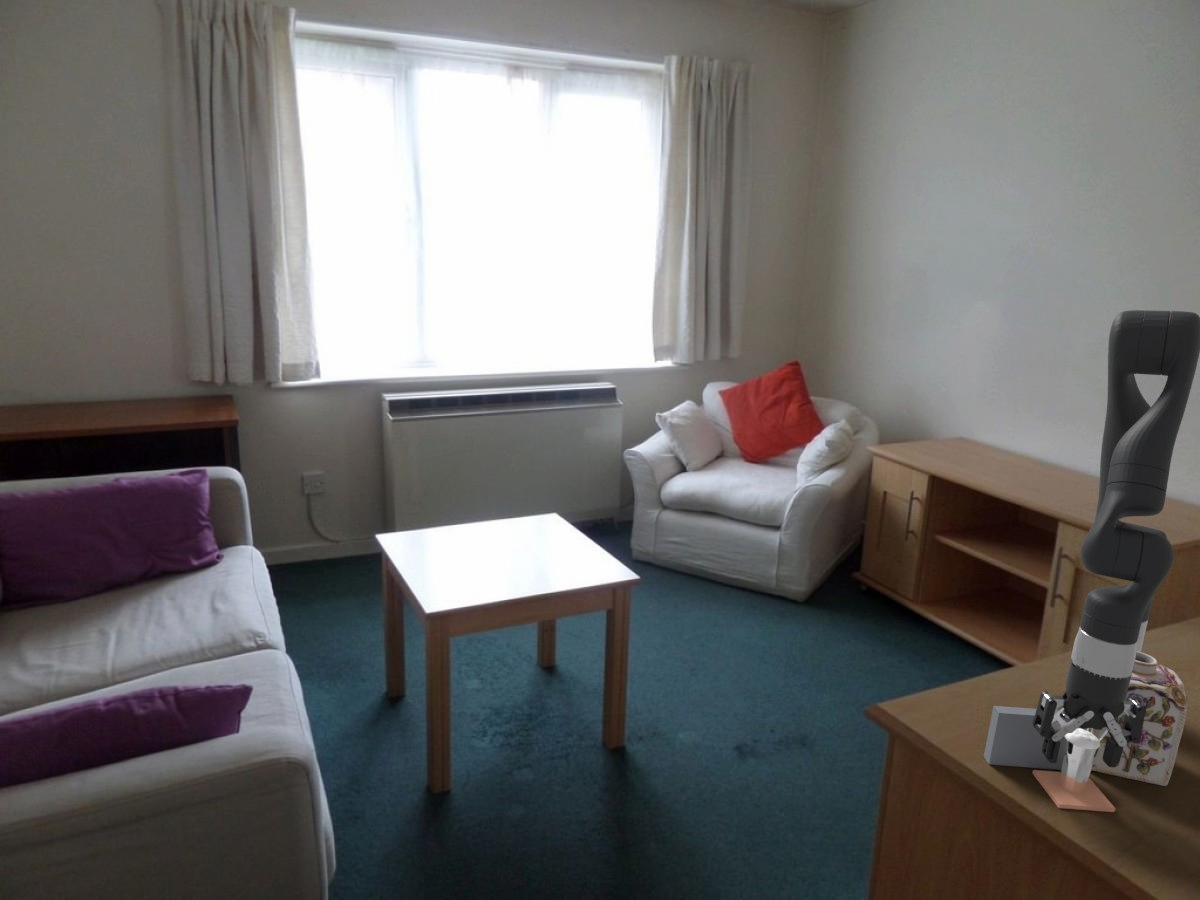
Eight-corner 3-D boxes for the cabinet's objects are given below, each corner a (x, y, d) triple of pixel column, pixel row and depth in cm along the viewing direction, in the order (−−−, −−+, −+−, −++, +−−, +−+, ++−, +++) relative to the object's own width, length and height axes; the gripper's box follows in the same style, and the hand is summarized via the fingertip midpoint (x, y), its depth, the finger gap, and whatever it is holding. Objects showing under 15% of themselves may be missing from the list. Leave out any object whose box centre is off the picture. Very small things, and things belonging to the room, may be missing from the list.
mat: (1085, 777, 126) (1086, 773, 126) (1114, 812, 118) (1115, 808, 118) (1032, 773, 126) (1033, 769, 126) (1058, 807, 119) (1059, 804, 118)
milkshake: (1100, 800, 120) (1114, 739, 117) (1060, 793, 121) (1073, 733, 118) (1088, 781, 124) (1101, 722, 122) (1050, 775, 125) (1062, 716, 123)
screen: (1067, 762, 129) (1078, 712, 127) (1073, 770, 128) (1085, 719, 125) (983, 756, 130) (993, 705, 128) (988, 764, 128) (998, 712, 126)
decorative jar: (1082, 770, 128) (1106, 665, 124) (1067, 730, 139) (1088, 633, 134) (1171, 789, 124) (1199, 682, 120) (1148, 747, 135) (1173, 647, 131)
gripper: (1136, 653, 121) (1113, 750, 124) (1038, 646, 121) (1018, 743, 125) (1169, 679, 113) (1143, 782, 117) (1064, 672, 114) (1042, 774, 118)
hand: (1079, 762), depth 121 cm, fingers open, 8 cm apart
